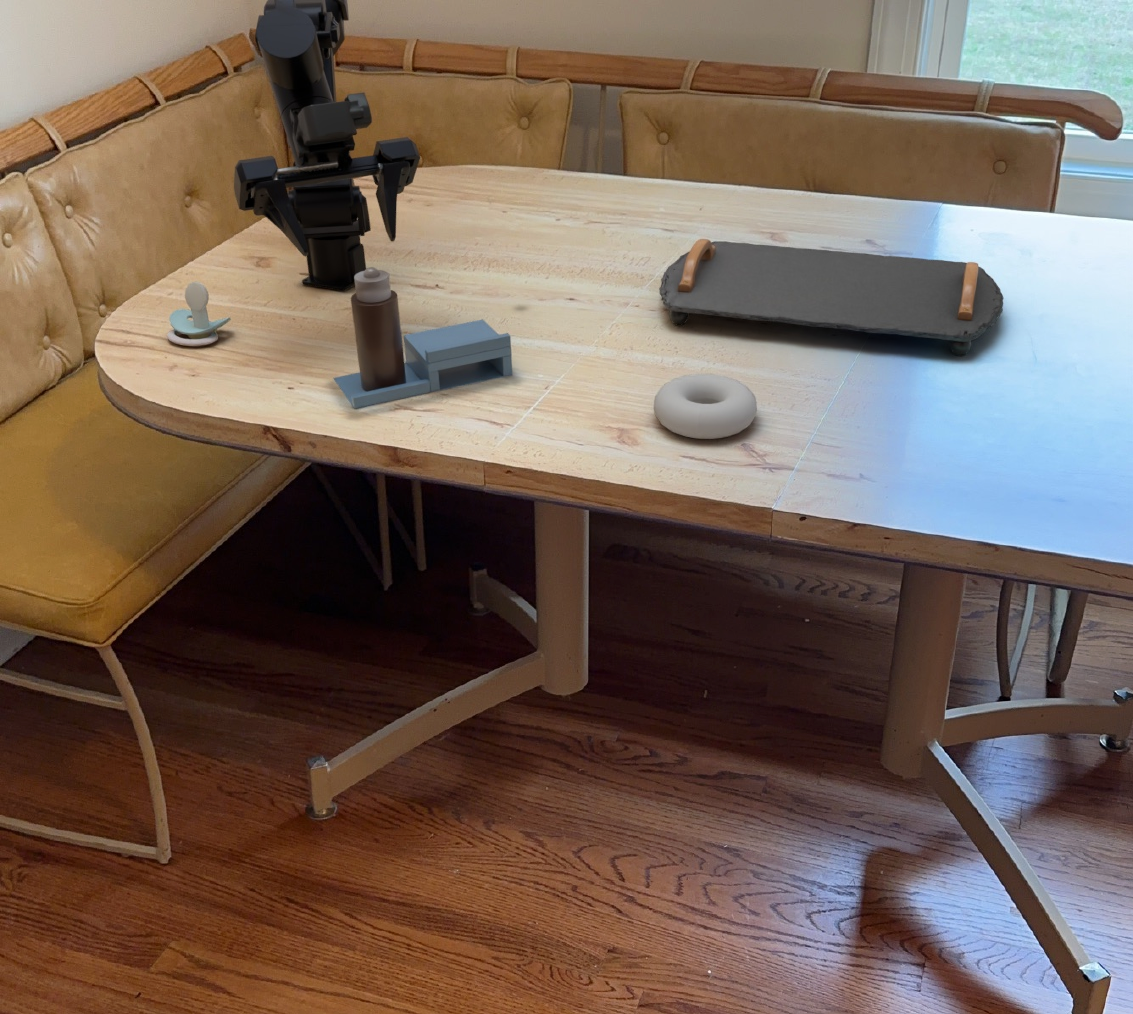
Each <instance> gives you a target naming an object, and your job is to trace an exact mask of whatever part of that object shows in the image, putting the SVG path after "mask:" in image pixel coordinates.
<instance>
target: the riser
mask: <svg viewBox="0 0 1133 1014" xmlns="http://www.w3.org/2000/svg"><path fill="white" fill-rule="evenodd" d="M511 338H512V337H511V335H510V334H509V332H506V333H500V334H499V333H498V332H497V331H496V330H494V329H493V328H492V327H491V325H490V324H489V323H487V322H486V321H485V320H484V319H477V320H473V321H469V322H467V321H466V322H461V323H458V324H457V323H456V324H453V325H452V324H451V325H447V326H443V327H438V328H432V329H428V330H422V331H417V332H412V333H406V334H403V343H404V346H403V347H404V354H405V356H404V357H405V362H404V364H405V374H406V383H405V384H401V385H396V386H391V387H387V388H382V389H377V390H372V391H368V392H366V391H365V390H363V388H362V386H361V378H360V371H359V372H356V373H351V374H346V375H341V376H336V377H333V380H334V381H335V383H336V385H337V386H338V387H339V389H340V390H341V391H342V393H343V394H344V397H346V399H347V400H348V402H349V403H350V405H351V406H352V408H353V409H354V410H357V409H362V408H367V407H371V406H377V405H381V404H386V403H390V402H395V401H398V400H399V401H400V400H403V399H408V398H413V397H419V396H422V395H426V394H432V393H435V392H441V391H446V390H451V389H454V388H455V389H456V388H458V387H463V386H467V385H472V384H477V383H478V384H479V383H481V382H487V381H490V380H491V381H492V380H495V379H500V378H506V377H510V376H513V358H512V340H511Z"/></svg>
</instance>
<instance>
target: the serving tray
mask: <svg viewBox="0 0 1133 1014" xmlns="http://www.w3.org/2000/svg"><path fill="white" fill-rule="evenodd" d="M660 283H661V284H660V286H659V295H660V296H661V301H662V304H663V306H664V307H665V308H666V309H667V310H668V311H670V313H669V319H670V320H671V322H672V324H673V325H674V326H679V327H680V326H684V325H685V324H686V322H687V321H688V320H689V316H690V315H689V314H696V315H705V316H714V317H723V318H732V319H740V320H749V321H763V322H774V323H784V324H791V325H796V326H801V327H802V326H804V327H806V326H807V327H811V328H827V329H835V330H848V331H853V332H854V331H855V332H862V333H863V332H864V333H867V334H887V335H899V336H905V337H908V336H909V337H915V338H925V339H936V340H942V341H943V340H944V341H950V343H949V347H950V350H951V351H952V354H953V355H954V356H957V357H965V356H966V355H967V353H968V352H969V351H970V350H971V347H972V341H973V340H975V339H977V338H979V337H980V336H982V334H984V333H985V332H987V331H988V330H989V329H991V328H992V327H993V325H995V324H996V323H997V321H998V318H999V317H1001V315H1002V314H1003V312H1004V309H1003V308H1004V295H1003V294H1002V292H1001V287H999V285H998V284H997V282H996V281H995V280H994V278H993V277H991V276H990V275H989V273H987V272H986V270H985V269H984V268H982V267H981V266H979V263H977V262H976V261H975V262H974V261H968V262H964V261H952V260H943V259H927V258H918V257H908V256H897V255H896V256H895V255H882V254H874V253H873V254H872V253H865V252H850V251H841V250H829V249H817V248H807V247H806V248H803V247H802V248H801V247H791V246H782V245H781V246H780V245H773V244H756V243H755V244H754V243H749V242H732V241H723V240H720V241H719V240H718V241H717V240H716V241H715V240H714V241H711V240H710V239H708V238H700V239H698V240H696V241H695V243H694V244H693V245H692V247H691V248H690V250H689V251H687V252H686V253H684V254H682V255H680V256H679V257H678V259H677V260H675V261H674V262H673V263H671V264H670V265H668V267H667V268H666V270H664V272H663V275H662V277H661V279H660Z"/></svg>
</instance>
